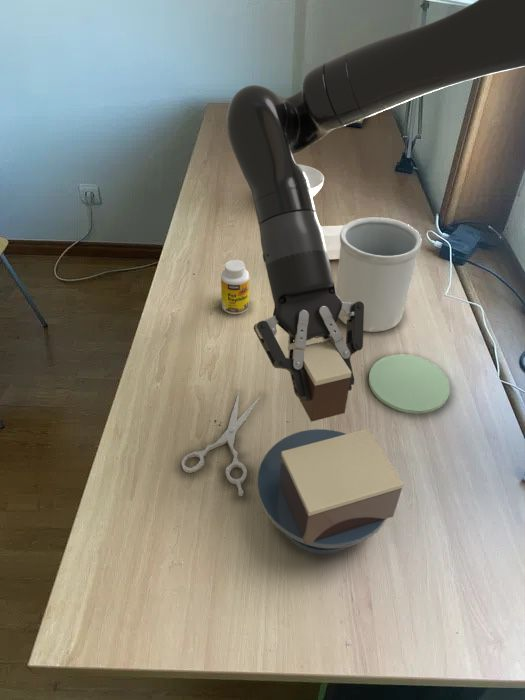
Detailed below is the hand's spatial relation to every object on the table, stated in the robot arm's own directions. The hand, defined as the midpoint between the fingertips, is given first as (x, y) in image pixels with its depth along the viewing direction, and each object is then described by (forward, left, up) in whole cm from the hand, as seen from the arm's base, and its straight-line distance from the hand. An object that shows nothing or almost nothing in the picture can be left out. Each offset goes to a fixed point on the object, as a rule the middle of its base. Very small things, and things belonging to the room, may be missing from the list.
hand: (326, 394), depth 67 cm
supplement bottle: (+12, -45, -22) cm, 52 cm away
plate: (-19, -23, -22) cm, 37 cm away
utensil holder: (-15, -44, -22) cm, 52 cm away
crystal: (-13, -66, -22) cm, 71 cm away
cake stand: (-1, +3, -22) cm, 22 cm away
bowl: (-2, -91, -22) cm, 94 cm away
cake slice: (+1, -2, -3) cm, 3 cm away
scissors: (+12, -11, -22) cm, 27 cm away
